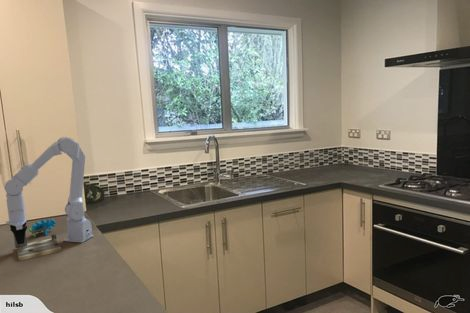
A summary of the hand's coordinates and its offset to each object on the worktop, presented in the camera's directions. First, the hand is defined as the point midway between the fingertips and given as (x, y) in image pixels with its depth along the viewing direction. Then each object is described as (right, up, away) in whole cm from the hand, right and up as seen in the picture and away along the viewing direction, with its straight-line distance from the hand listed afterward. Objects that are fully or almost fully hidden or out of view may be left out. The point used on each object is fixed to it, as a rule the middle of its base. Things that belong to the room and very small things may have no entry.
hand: (20, 242), depth 142 cm
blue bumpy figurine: (-2, -1, +20) cm, 21 cm away
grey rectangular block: (+1, -2, -1) cm, 2 cm away
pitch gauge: (+7, -3, +1) cm, 7 cm away
